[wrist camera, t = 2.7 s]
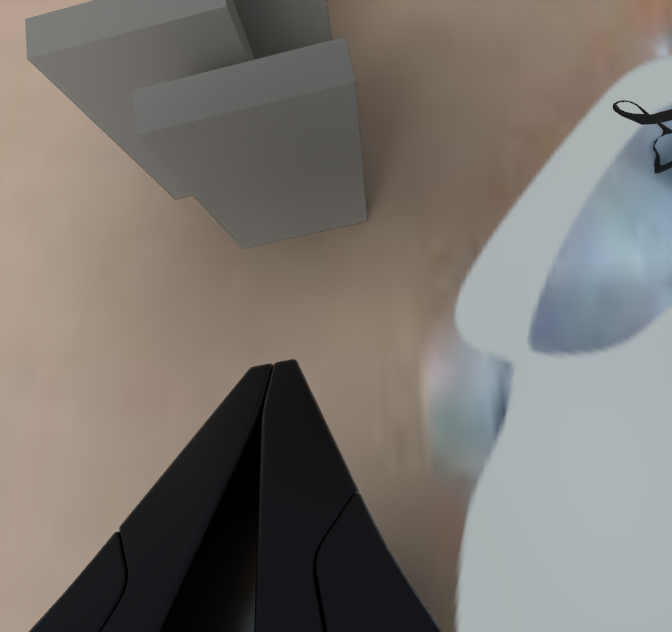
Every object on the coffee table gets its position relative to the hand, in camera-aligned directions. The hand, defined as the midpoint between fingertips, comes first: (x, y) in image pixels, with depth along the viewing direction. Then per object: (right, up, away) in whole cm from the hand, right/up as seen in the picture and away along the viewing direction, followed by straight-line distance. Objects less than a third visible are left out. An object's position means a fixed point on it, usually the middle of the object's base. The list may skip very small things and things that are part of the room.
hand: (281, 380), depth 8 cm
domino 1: (-4, +8, +13) cm, 16 cm away
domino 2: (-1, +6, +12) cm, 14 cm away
